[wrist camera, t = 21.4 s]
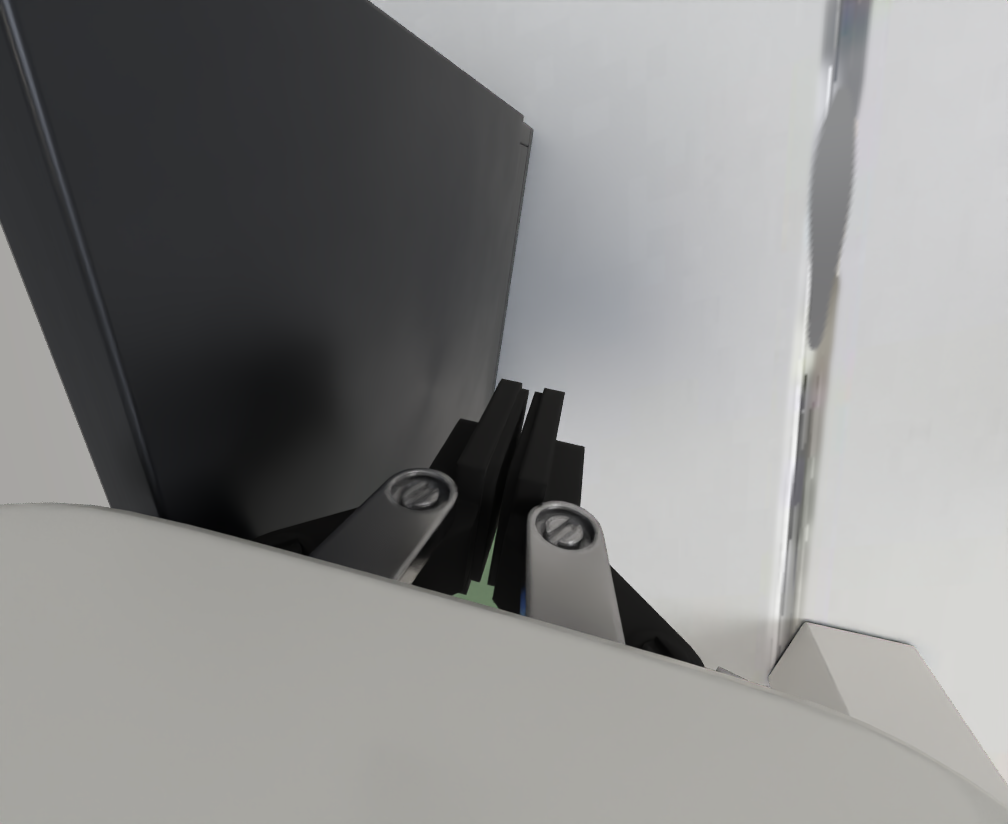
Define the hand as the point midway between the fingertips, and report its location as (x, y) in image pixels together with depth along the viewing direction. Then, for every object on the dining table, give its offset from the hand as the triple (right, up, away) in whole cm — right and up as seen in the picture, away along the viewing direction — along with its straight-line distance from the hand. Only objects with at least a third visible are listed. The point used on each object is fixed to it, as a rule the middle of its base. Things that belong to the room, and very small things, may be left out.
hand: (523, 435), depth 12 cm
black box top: (-3, +1, +2) cm, 4 cm away
